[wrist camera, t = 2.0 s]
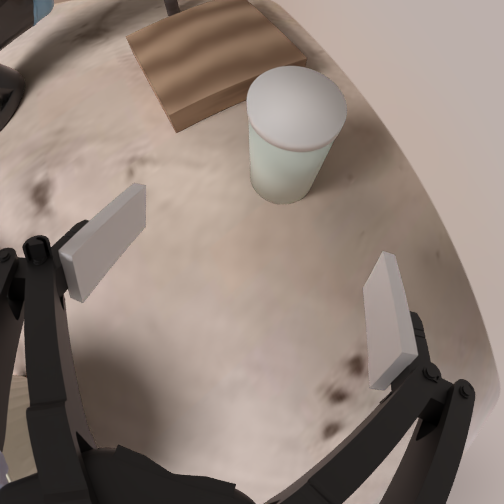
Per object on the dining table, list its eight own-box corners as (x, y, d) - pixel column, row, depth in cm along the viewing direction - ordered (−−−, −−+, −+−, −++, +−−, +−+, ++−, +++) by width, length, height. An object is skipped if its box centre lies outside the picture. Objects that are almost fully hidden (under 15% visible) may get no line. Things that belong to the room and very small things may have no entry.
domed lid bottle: (237, 163, 34) (228, 85, 20) (292, 136, 35) (310, 56, 21) (269, 216, 33) (280, 161, 19) (325, 187, 34) (366, 122, 20)
